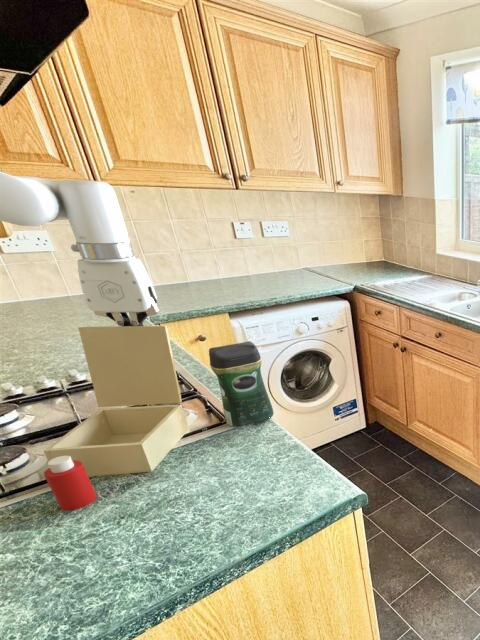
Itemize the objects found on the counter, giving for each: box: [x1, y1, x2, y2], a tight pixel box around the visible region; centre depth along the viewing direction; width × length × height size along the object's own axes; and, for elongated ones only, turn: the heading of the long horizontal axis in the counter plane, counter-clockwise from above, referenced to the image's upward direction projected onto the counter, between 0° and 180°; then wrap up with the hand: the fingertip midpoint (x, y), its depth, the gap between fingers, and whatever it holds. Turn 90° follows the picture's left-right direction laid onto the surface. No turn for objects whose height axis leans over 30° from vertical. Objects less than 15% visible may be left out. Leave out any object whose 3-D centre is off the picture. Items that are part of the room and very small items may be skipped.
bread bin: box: [43, 404, 190, 478], centre depth 82 cm, size 16×15×7 cm
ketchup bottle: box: [43, 456, 98, 512], centre depth 69 cm, size 4×4×9 cm
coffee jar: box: [208, 340, 275, 428], centre depth 95 cm, size 10×8×19 cm
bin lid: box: [77, 325, 183, 408], centre depth 86 cm, size 16×15×1 cm
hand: (138, 342), depth 88 cm, fingers closed
